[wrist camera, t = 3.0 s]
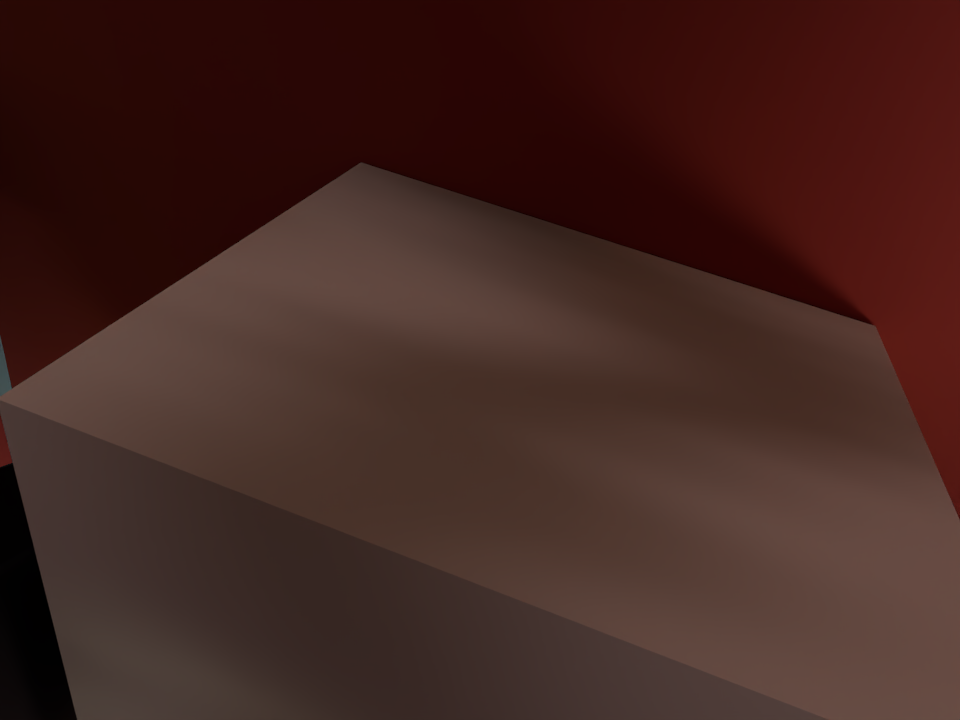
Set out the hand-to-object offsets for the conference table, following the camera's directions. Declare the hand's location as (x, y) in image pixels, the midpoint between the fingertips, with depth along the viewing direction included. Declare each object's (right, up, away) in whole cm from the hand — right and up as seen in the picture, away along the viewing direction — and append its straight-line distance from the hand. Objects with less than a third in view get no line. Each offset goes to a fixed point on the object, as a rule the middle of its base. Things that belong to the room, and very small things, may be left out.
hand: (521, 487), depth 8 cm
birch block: (0, +1, +1) cm, 1 cm away
